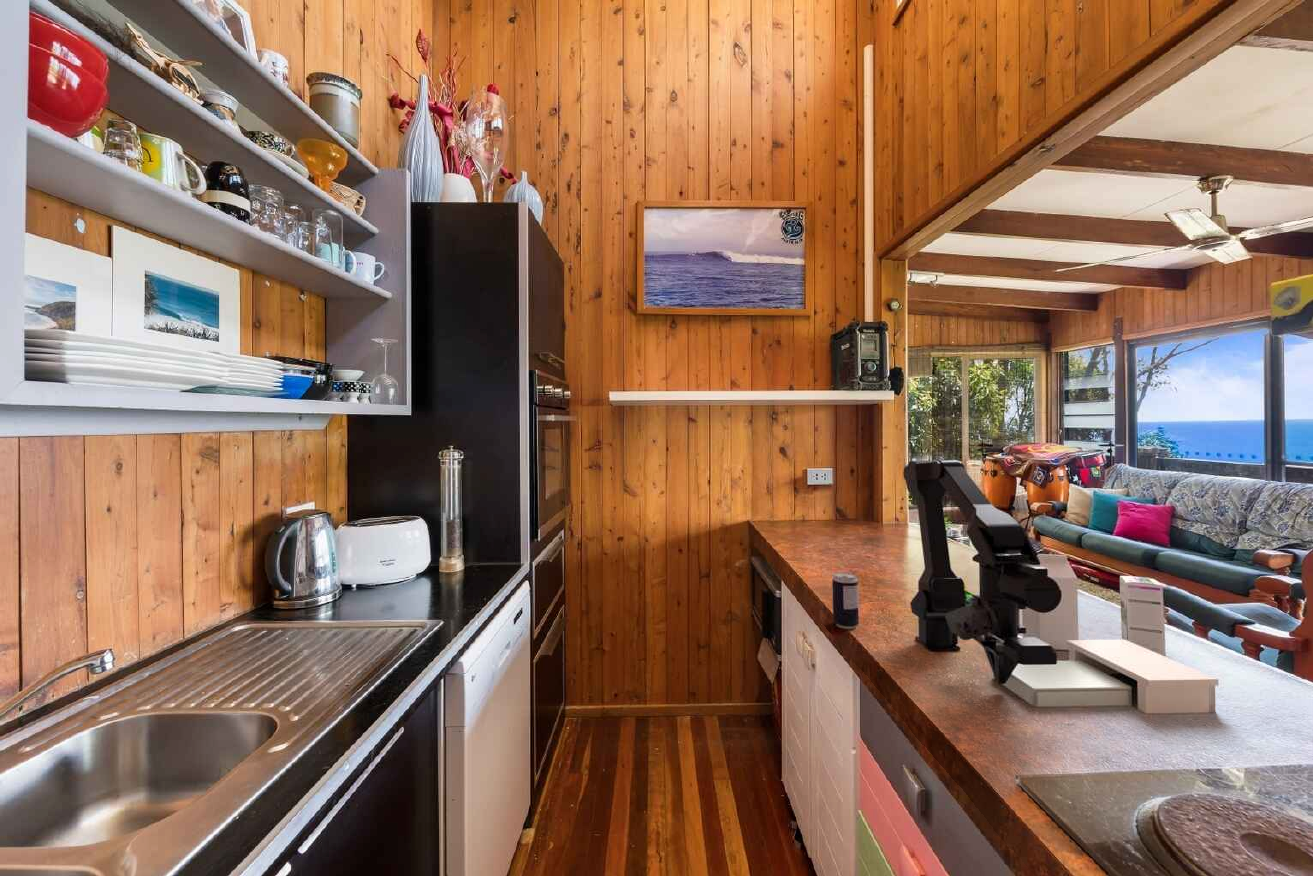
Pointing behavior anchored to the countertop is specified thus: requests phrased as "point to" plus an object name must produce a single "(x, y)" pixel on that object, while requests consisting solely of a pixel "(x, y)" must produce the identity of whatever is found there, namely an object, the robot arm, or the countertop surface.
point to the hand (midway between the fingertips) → (1000, 683)
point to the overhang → (1150, 675)
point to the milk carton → (1065, 616)
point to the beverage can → (845, 600)
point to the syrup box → (1142, 612)
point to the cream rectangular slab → (1067, 685)
